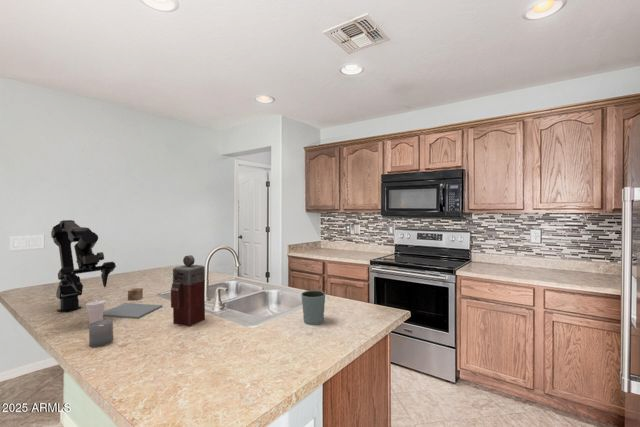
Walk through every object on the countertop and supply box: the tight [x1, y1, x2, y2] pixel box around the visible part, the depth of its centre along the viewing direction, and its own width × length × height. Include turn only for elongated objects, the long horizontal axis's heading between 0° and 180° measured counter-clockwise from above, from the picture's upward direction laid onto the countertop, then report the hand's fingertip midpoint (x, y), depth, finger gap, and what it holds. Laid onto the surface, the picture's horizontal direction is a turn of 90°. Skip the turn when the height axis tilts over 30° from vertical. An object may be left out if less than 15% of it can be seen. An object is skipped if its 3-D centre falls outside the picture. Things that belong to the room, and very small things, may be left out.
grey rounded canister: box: [88, 319, 114, 348], centre depth 112 cm, size 7×7×7 cm
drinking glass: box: [300, 290, 326, 326], centre depth 134 cm, size 10×10×12 cm
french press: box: [170, 254, 206, 327], centre depth 132 cm, size 9×11×28 cm
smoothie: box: [85, 291, 106, 325], centre depth 127 cm, size 6×6×14 cm
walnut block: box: [127, 287, 144, 302], centre depth 164 cm, size 5×5×5 cm
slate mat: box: [103, 302, 163, 320], centre depth 145 cm, size 20×16×1 cm
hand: (92, 289), depth 127 cm, fingers open, 9 cm apart
